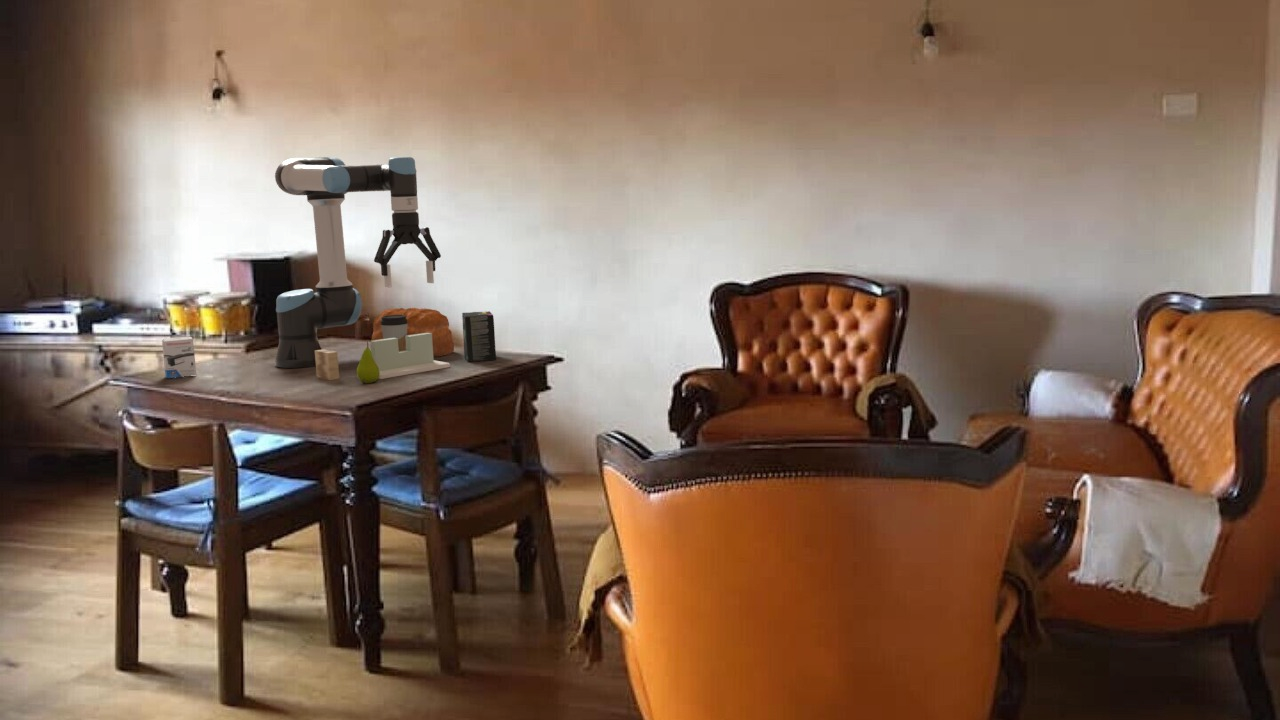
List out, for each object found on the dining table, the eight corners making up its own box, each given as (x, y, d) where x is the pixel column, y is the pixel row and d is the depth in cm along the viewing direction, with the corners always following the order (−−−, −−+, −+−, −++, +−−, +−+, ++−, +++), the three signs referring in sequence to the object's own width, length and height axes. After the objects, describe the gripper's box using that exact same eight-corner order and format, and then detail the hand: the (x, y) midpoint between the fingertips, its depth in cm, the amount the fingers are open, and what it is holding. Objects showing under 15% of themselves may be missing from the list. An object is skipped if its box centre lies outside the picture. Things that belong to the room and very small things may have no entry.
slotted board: (356, 373, 332) (354, 340, 330) (424, 362, 348) (422, 330, 346) (381, 378, 322) (378, 344, 320) (449, 367, 338) (447, 334, 336)
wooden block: (316, 377, 328) (314, 350, 327) (326, 375, 330) (323, 349, 329) (329, 380, 322) (327, 353, 321) (339, 378, 325) (337, 351, 323)
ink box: (166, 379, 331) (162, 340, 329) (165, 377, 335) (161, 338, 333) (197, 376, 335) (193, 338, 333) (195, 373, 339) (191, 336, 337)
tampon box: (496, 360, 348) (494, 314, 345) (467, 362, 346) (464, 316, 343) (492, 355, 358) (490, 310, 356) (464, 357, 356) (461, 312, 353)
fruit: (359, 385, 313) (356, 343, 311) (356, 381, 318) (352, 341, 316) (382, 383, 315) (379, 341, 313) (378, 379, 321) (375, 339, 319)
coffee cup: (404, 366, 342) (400, 318, 339) (379, 365, 344) (375, 318, 341) (414, 361, 350) (411, 314, 347) (390, 361, 352) (386, 314, 349)
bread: (391, 349, 377) (388, 304, 374) (459, 351, 367) (456, 305, 364) (367, 356, 364) (364, 309, 361) (436, 359, 354) (434, 311, 352)
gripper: (370, 213, 306) (376, 289, 310) (449, 209, 322) (453, 282, 325) (359, 213, 312) (364, 287, 316) (437, 209, 327) (441, 280, 331)
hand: (409, 285), depth 321 cm, fingers open, 13 cm apart
